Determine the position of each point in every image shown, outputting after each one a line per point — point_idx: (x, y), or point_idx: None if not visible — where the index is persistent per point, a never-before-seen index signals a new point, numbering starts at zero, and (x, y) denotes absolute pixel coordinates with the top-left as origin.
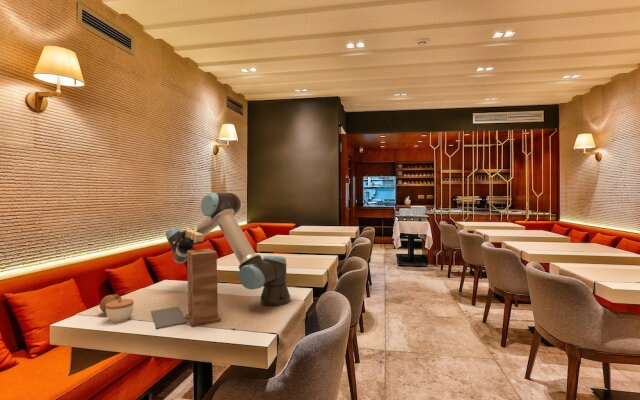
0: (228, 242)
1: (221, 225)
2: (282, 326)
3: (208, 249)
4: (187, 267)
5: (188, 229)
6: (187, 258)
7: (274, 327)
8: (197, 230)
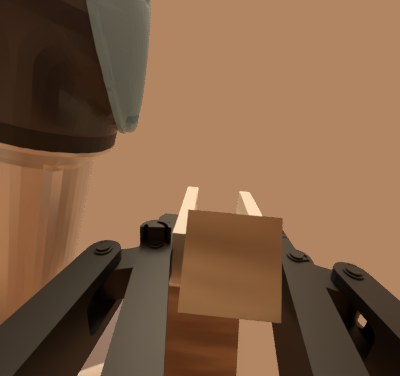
0: (63, 267)
1: (87, 189)
2: (88, 368)
3: (170, 280)
4: (236, 365)
5: (237, 211)
6: (237, 322)
7: (98, 372)
8: (161, 217)
